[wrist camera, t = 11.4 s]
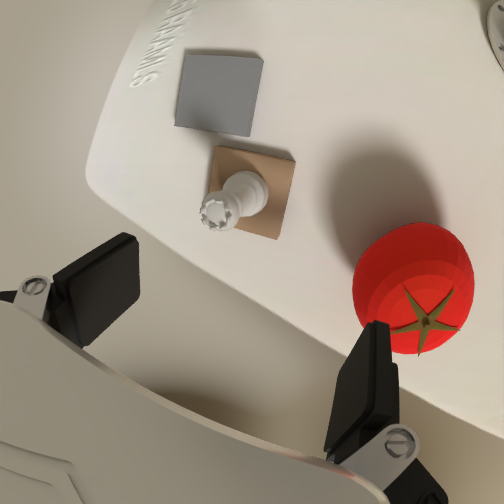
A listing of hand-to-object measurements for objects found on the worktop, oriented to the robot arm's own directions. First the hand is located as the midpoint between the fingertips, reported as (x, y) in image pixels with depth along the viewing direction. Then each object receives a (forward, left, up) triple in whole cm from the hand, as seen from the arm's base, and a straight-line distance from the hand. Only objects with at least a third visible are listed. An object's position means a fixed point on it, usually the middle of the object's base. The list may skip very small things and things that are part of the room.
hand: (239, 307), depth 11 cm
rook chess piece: (+1, -6, -19) cm, 20 cm away
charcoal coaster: (-8, -11, -20) cm, 24 cm away
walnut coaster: (+1, -6, -20) cm, 21 cm away
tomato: (+4, +12, -20) cm, 24 cm away
